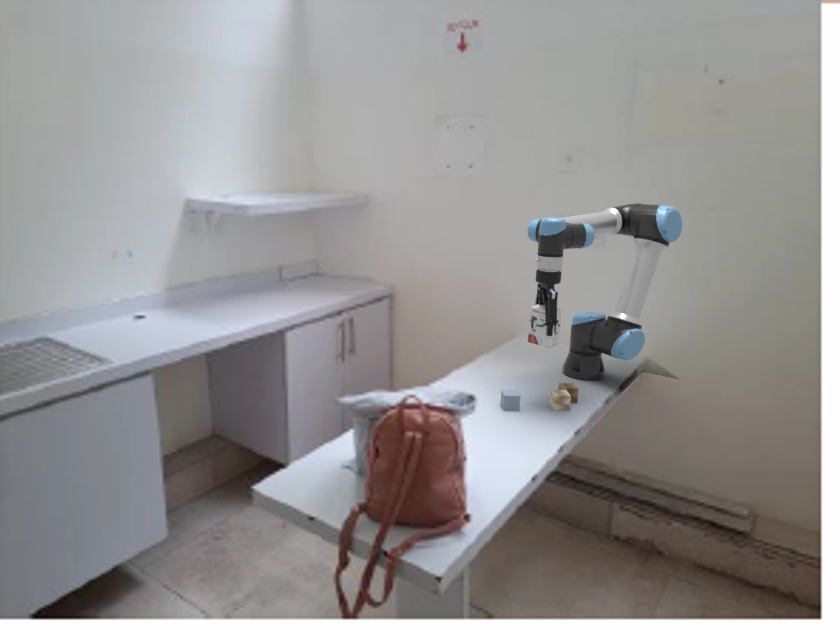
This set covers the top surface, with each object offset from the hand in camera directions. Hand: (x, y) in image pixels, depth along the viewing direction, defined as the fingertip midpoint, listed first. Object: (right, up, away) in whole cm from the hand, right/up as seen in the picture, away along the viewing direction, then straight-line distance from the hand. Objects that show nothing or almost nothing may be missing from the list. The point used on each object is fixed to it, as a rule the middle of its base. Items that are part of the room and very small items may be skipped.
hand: (543, 340), depth 180 cm
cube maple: (+6, -21, +4) cm, 23 cm away
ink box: (0, -1, 0) cm, 1 cm away
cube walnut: (+10, -20, +10) cm, 25 cm away
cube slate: (-10, -21, +3) cm, 24 cm away
